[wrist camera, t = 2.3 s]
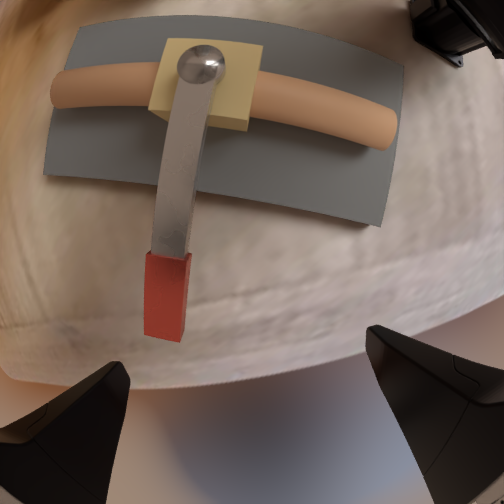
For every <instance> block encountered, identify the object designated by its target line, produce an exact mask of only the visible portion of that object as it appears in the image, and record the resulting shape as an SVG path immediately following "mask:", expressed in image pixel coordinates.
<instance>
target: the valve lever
mask: <svg viewBox="0 0 504 504" xmlns="http://www.w3.org/2000/svg"><path fill="white" fill-rule="evenodd" d="M177 72H178V74H179V80H178V84H177V88H176V92H175V96H174V101H173V105H172V109H171V114H170V119H169V124H168V128H167V134H166V139H165V144H164V150H163V156H162V162H161V168H160V174H159V181H158V188H157V196H156V204H155V213H154V222H153V233H152V244H151V250H150V251H149V252H148V253H147V254H146V262H145V284H144V335H147V336H151V337H156V338H160V339H165V340H169V341H174V342H179V343H180V341H181V338H182V335H183V332H184V328H185V316H186V305H187V294H188V284H189V275H190V266H191V257H192V253H188V247H189V239H190V232H191V224H192V217H193V210H194V203H195V196H196V190H197V184H198V178H199V172H200V166H201V160H202V155H203V149H204V144H205V139H206V133H207V128H208V123H209V119H210V114H211V109H212V104H213V100H214V95H215V91H216V87H217V84H219V83H220V82H221V81H222V79H223V78H224V76H225V73H226V64H225V59H224V56H223V54H222V52H221V51H220V50H219V49H217V48H216V47H214V46H211V45H197V46H194V47H191V48H189V49H188V50H186V51H185V52H184V53H183V54H182V55H181V56H180V58H179V60H178V63H177Z"/></svg>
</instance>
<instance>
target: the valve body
mask: <svg viewBox="0 0 504 504" xmlns="http://www.w3.org/2000/svg"><path fill="white" fill-rule="evenodd" d="M197 45H211V46H214V47H216V48H217V49H219V50H220V51H221V52H222V54H223V56H224V59H225V64H226V73H225V76H224V78H223V79H222V81H221V82H220V83H219V84H217V87H216V91H215V95H214V100H213V104H212V109H211V114H210V119H209V123H208V128H207V133H206V139H205V144H204V149H203V155H202V160H201V166H200V172H199V178H198V184H197V190H196V191H201V192H208V193H214V194H220V195H226V196H232V197H238V198H244V199H250V200H255V201H261V202H266V203H271V204H277V205H282V206H287V207H292V208H297V209H302V210H307V211H312V212H316V213H321V214H326V215H330V216H335V217H339V218H344V219H348V220H352V221H356V222H361V223H365V224H369V225H373V226H377V227H381V223H382V219H383V215H384V211H385V206H386V202H387V197H388V192H389V187H390V182H391V177H392V172H393V166H394V160H395V154H396V147H397V140H398V133H399V125H400V116H401V105H402V93H403V77H404V66H403V65H401V64H399V63H396V62H394V61H392V60H390V59H388V58H385V57H383V56H381V55H378V54H376V53H374V52H371V51H369V50H366V49H363V48H361V47H358V46H355V45H353V44H350V43H347V42H344V41H341V40H338V39H335V38H332V37H328V36H325V35H321V34H318V33H314V32H310V31H307V30H303V29H298V28H294V27H289V26H285V25H280V24H274V23H269V22H263V21H256V20H249V19H241V18H231V17H219V16H198V15H173V16H152V17H140V18H131V19H123V20H116V21H109V22H103V23H98V24H93V25H88V26H84V27H80V28H79V31H78V33H77V35H76V38H75V40H74V43H73V46H72V48H71V51H70V54H69V56H68V59H67V62H66V65H65V68H64V71H61V72H60V73H58V74H57V75H56V77H55V78H54V80H53V82H52V85H51V89H50V98H51V102H52V104H53V105H54V109H53V113H52V118H51V123H50V128H49V134H48V140H47V147H46V154H45V162H44V171H43V175H56V176H71V177H83V178H95V179H105V180H115V181H125V182H134V183H142V184H150V185H158V181H159V174H160V168H161V162H162V156H163V150H164V144H165V139H166V134H167V128H168V124H169V119H170V114H171V109H172V105H173V101H174V96H175V92H176V88H177V84H178V80H179V74H178V72H177V63H178V60H179V58H180V56H181V55H182V54H183V53H184V52H185V51H186V50H188V49H189V48H191V47H194V46H197Z"/></svg>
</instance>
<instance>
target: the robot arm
mask: <svg viewBox="0 0 504 504" xmlns="http://www.w3.org/2000/svg"><path fill="white" fill-rule="evenodd" d="M410 3H411V5H410V11H411V21H412V29H413V38H414V39H415V41H417V42H419V43H420V44H422V45H424V46H426V47H427V48H429V49H431V50H433V51H434V52H436V53H437V54H439V55H441V56H442V57H444V58H445V59H447V60H448V61H450V62H451V63H453V64H454V65H456V66H457V67H459V68H460V67H463V56H462V55H464V54H466V53H469V52H471V51H474V50H477V49H479V48H482V47H485V46H487V47H488V48H489V49H490V51H491V52H492V55H493V56H494V58H495V59H504V0H410ZM365 347H366V352H367V355H368V357H369V360H370V362H371V365H372V368H373V370H374V373H375V375H376V378H377V381H378V384H379V386H380V388H381V390H382V392H383V394H384V396H385V397H386V399H387V402H388V403H389V406H390V408H391V409H392V412H393V413H394V415H395V417H396V419H397V422H398V423H399V426H400V428H401V430H402V432H403V433H404V436H405V438H406V440H407V442H408V444H409V446H410V449H411V450H412V453H413V455H414V457H415V459H416V461H417V464H418V466H419V468H420V470H421V473H422V475H423V476H424V477H423V478H424V480H425V482H426V484H427V487H428V489H429V492H430V494H431V496H432V499H433V501H434V504H472V503H474V502H475V501H476V502H477V504H504V370H502V369H498V368H494V367H490V366H486V365H483V364H480V363H476V362H473V361H470V360H467V359H464V358H462V357H459V356H456V355H452V354H451V353H448V352H446V351H443V350H441V349H438V348H436V347H433V346H431V345H428V344H425V343H423V342H420V341H418V340H415V339H413V338H410V337H408V336H405V335H403V334H400V333H398V332H395V331H393V330H390V329H388V328H385V327H383V326H381V325H373V326H370V327H368V328H367V330H366V345H365ZM129 388H130V377H129V375H128V373H127V371H126V370H125V368H124V366H123V364H122V363H121V362H120V361H112V362H109V363H108V364H106V365H105V366H103V367H102V368H100V369H99V370H97V371H96V372H94V373H93V374H91V375H90V376H88V377H87V378H85V379H83V380H82V381H80V382H79V383H77V384H76V385H74V386H73V387H71V388H70V389H68V390H67V391H65V392H63V393H62V394H60V395H59V396H57V397H56V398H54V399H53V400H51V401H49V403H46V404H45V405H43V406H41V407H40V408H38V409H36V410H35V411H33V412H31V413H30V414H28V415H26V416H24V417H23V418H20V419H18V420H17V421H15V422H13V423H11V424H9V425H7V426H5V427H3V428H0V504H105V503H106V500H107V494H108V488H109V483H110V478H111V473H112V467H113V464H114V459H115V454H116V450H117V446H118V442H119V438H120V434H121V430H122V426H123V422H124V417H125V413H126V406H127V400H128V394H129Z"/></svg>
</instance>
